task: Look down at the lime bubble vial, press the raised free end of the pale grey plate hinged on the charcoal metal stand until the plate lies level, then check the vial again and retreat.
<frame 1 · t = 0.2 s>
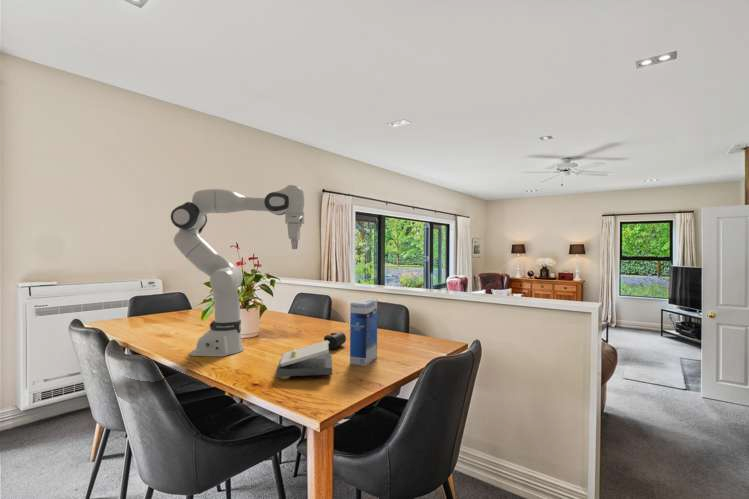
hand: (294, 249, 175), 48 cm above the table, tool pointing down, fingers open, 8 cm apart
tribrach stand: (305, 372, 143), on the table
end cap: (335, 348, 178), on the table
string lights box: (364, 361, 158), on the table
level plate: (304, 351, 143), point 8 cm above the table, hinge at 15.0°
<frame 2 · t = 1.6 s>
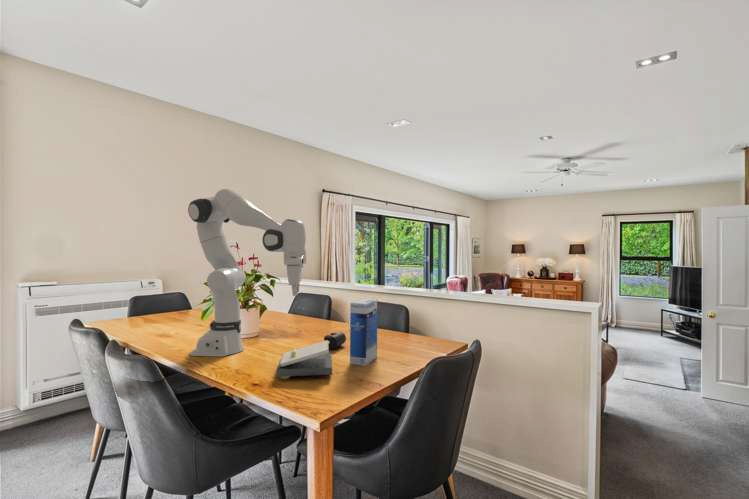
hand: (295, 294, 147), 30 cm above the table, tool pointing down, fingers open, 8 cm apart
nothing on the table moved.
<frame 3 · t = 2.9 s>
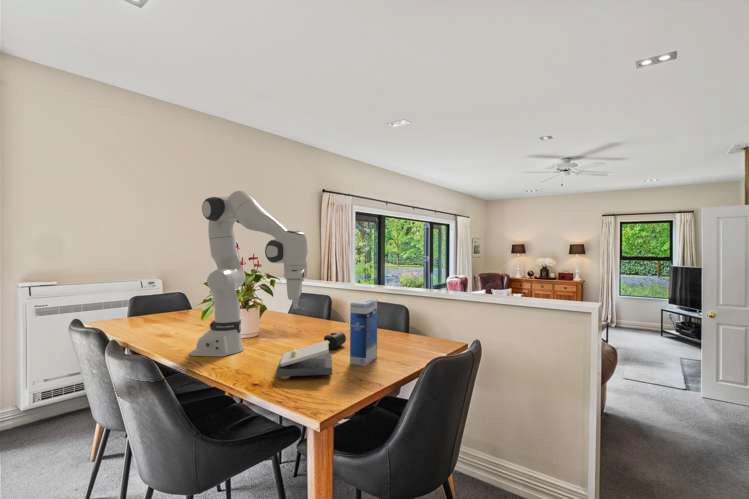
hand: (295, 308, 142), 25 cm above the table, tool pointing down, fingers closed
nothing on the table moved.
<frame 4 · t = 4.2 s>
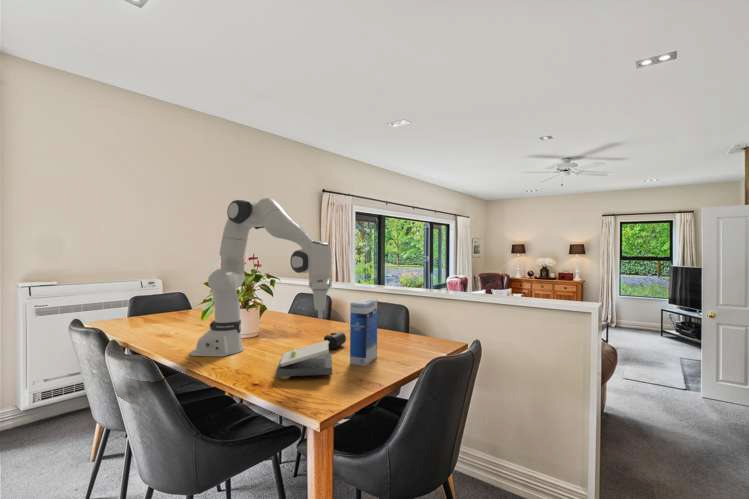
hand: (320, 318, 143), 21 cm above the table, tool pointing down, fingers closed
nothing on the table moved.
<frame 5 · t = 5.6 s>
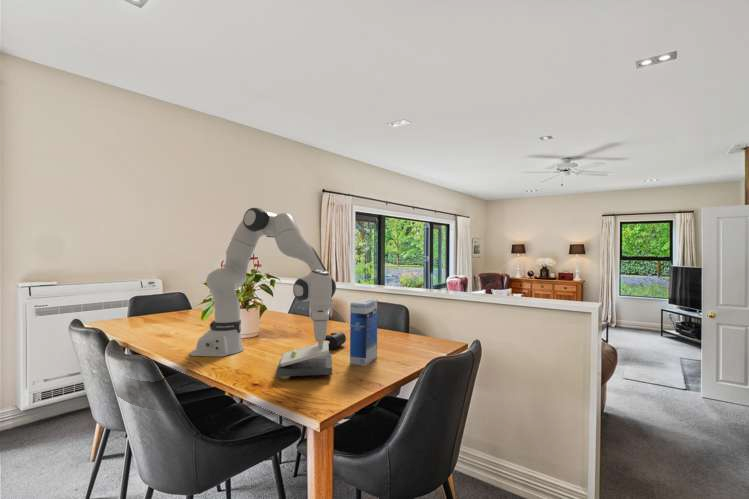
hand: (320, 346, 144), 10 cm above the table, tool pointing down, fingers closed, pressing on level plate
level plate: (304, 351, 143), point 8 cm above the table, hinge at 13.9°, touching gripper
everything else where it was.
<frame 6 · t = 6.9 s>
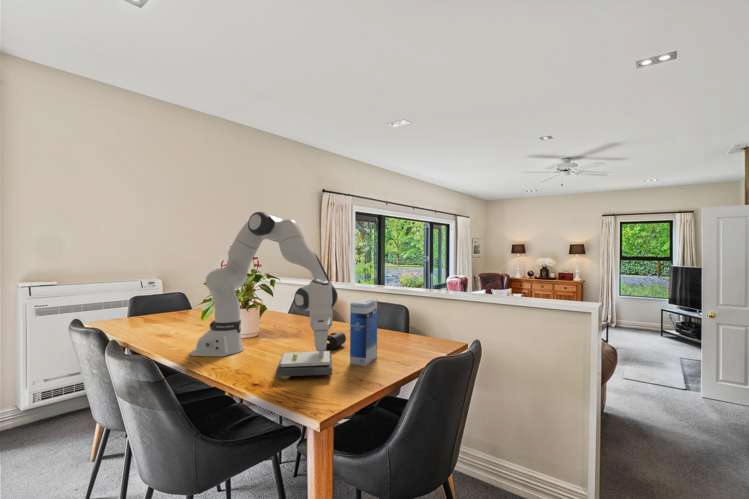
hand: (321, 356, 143), 6 cm above the table, tool pointing down, fingers closed, pressing on level plate
level plate: (305, 356, 143), point 6 cm above the table, hinge at 0.6°, touching gripper
everything else where it was.
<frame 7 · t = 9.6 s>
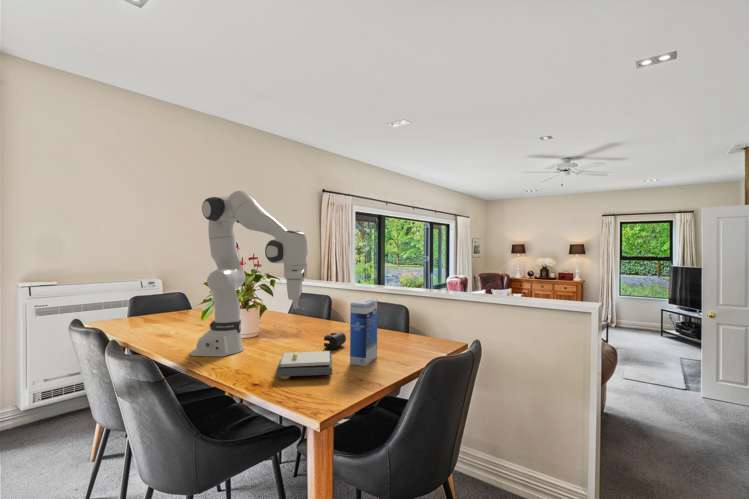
hand: (295, 308, 142), 25 cm above the table, tool pointing down, fingers closed
level plate: (305, 356, 143), point 6 cm above the table, hinge at 0.6°
everything else where it was.
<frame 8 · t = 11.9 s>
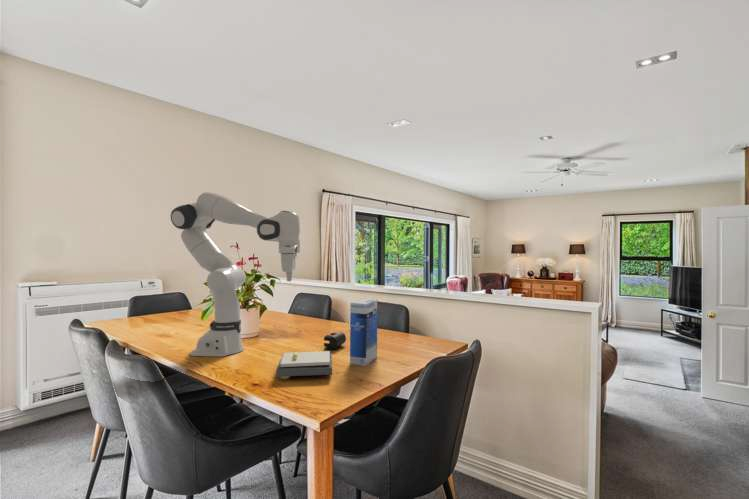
hand: (289, 281, 157), 34 cm above the table, tool pointing down, fingers closed
nothing on the table moved.
at the end: level plate at +1° (first picture: +15°); the gripper is holding nothing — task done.
